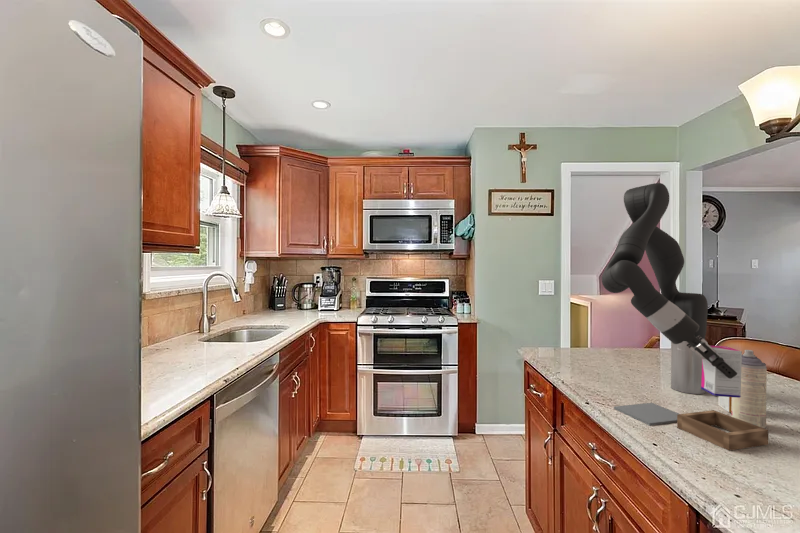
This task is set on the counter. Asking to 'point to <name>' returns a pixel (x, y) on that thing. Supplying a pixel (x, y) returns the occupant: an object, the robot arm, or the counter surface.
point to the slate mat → (649, 413)
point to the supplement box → (716, 379)
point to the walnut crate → (736, 439)
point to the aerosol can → (751, 391)
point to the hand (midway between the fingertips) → (728, 372)
